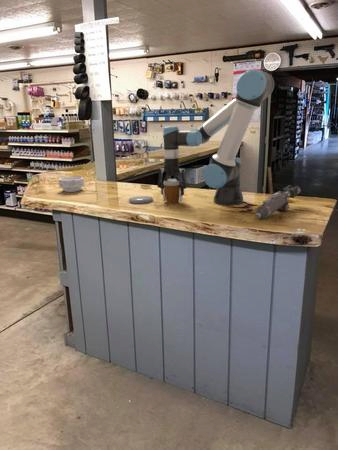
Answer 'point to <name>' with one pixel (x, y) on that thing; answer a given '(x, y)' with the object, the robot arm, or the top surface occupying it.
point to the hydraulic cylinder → (277, 202)
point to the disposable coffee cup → (172, 191)
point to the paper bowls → (71, 183)
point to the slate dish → (140, 200)
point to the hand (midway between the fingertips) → (172, 201)
